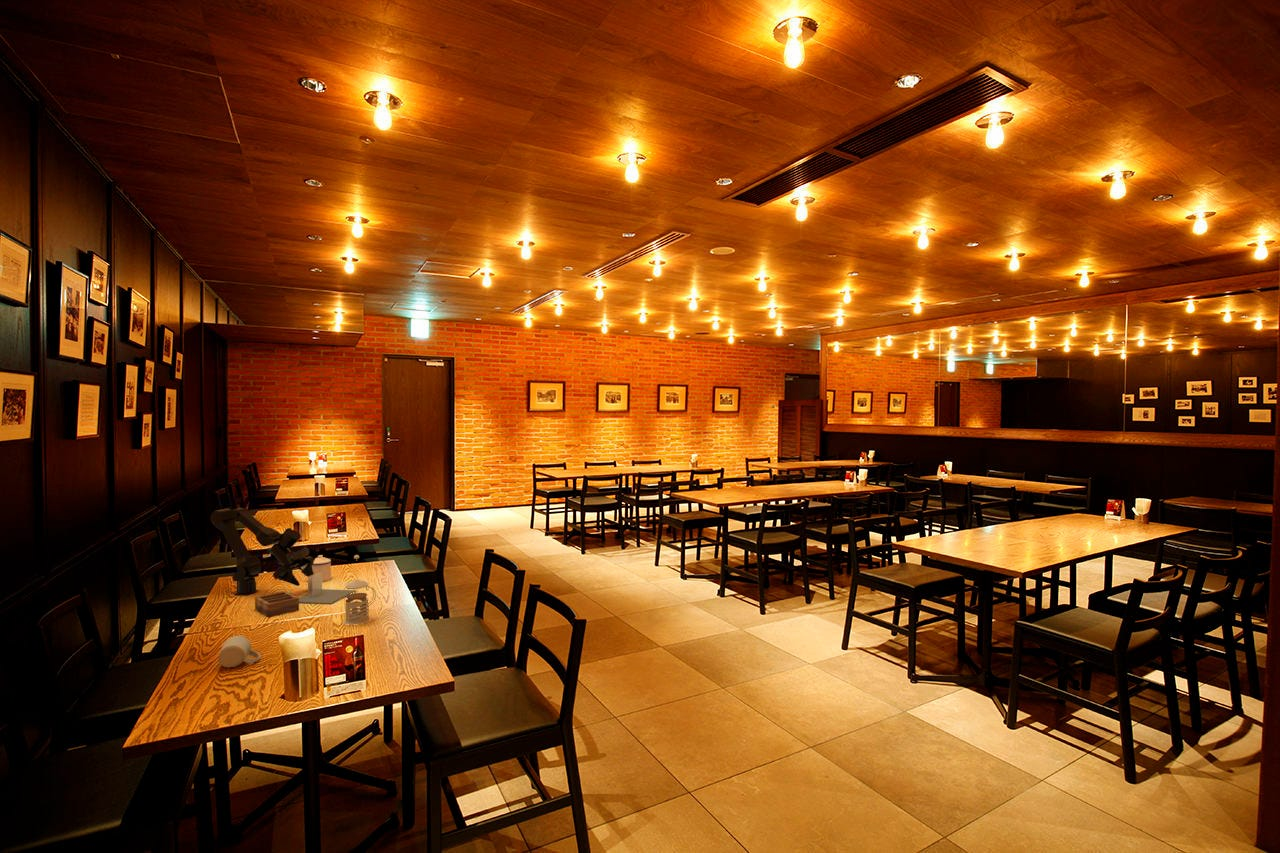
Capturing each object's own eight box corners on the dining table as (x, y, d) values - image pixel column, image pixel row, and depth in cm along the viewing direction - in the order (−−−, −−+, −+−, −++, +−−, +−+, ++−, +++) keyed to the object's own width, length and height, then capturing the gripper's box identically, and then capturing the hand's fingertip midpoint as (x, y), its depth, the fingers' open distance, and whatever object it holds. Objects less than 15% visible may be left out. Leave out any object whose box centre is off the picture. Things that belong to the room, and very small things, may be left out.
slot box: (255, 609, 240) (255, 597, 240) (285, 603, 248) (285, 591, 248) (267, 617, 231) (267, 604, 231) (298, 610, 239) (298, 597, 239)
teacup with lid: (332, 576, 289) (332, 552, 288) (330, 581, 280) (330, 556, 280) (303, 579, 284) (303, 554, 284) (301, 584, 276) (300, 559, 276)
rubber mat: (289, 603, 248) (289, 601, 248) (317, 590, 266) (317, 589, 266) (331, 604, 247) (331, 603, 247) (356, 591, 265) (355, 590, 265)
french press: (338, 621, 227) (337, 555, 226) (369, 613, 235) (369, 550, 235) (348, 627, 220) (348, 559, 220) (380, 619, 229) (380, 554, 228)
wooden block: (308, 597, 254) (307, 576, 253) (317, 593, 260) (317, 572, 259) (312, 598, 253) (312, 576, 253) (322, 593, 259) (322, 573, 259)
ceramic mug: (216, 671, 183) (216, 645, 183) (223, 660, 190) (223, 636, 190) (257, 666, 187) (257, 641, 187) (262, 656, 194) (262, 632, 194)
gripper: (279, 547, 248) (303, 575, 247) (311, 538, 267) (333, 564, 265) (262, 565, 250) (285, 593, 248) (295, 554, 268) (317, 581, 267)
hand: (306, 582), depth 257 cm, fingers open, 9 cm apart
